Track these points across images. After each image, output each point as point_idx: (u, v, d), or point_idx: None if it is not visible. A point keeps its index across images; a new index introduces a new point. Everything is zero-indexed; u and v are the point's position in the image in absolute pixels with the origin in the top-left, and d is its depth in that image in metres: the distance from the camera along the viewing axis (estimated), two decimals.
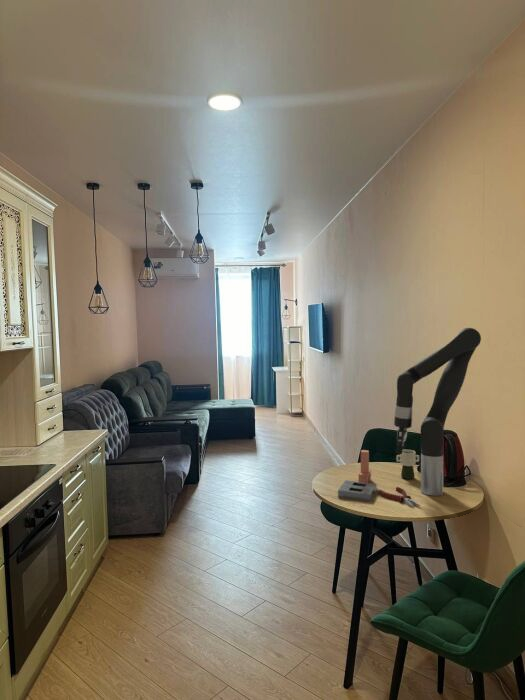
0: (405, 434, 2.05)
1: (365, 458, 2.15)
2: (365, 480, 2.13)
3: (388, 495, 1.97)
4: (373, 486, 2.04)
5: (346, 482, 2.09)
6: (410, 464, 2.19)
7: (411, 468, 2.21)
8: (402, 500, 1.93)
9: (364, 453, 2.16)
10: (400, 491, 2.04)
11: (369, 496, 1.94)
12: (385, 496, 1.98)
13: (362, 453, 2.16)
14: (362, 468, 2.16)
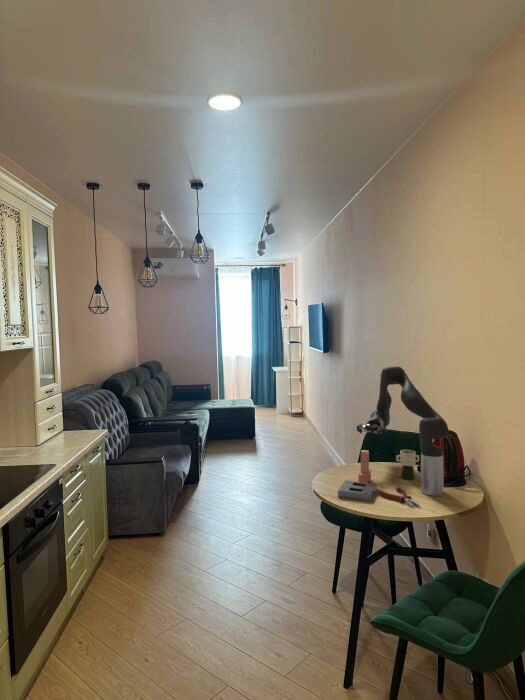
0: (367, 424, 2.35)
1: (365, 458, 2.15)
2: (365, 480, 2.13)
3: (388, 495, 1.97)
4: (373, 486, 2.04)
5: (346, 482, 2.09)
6: (410, 464, 2.19)
7: (411, 468, 2.21)
8: (403, 500, 1.93)
9: (364, 453, 2.16)
10: (400, 491, 2.03)
11: (369, 496, 1.94)
12: (385, 496, 1.98)
13: (362, 453, 2.16)
14: (362, 468, 2.16)
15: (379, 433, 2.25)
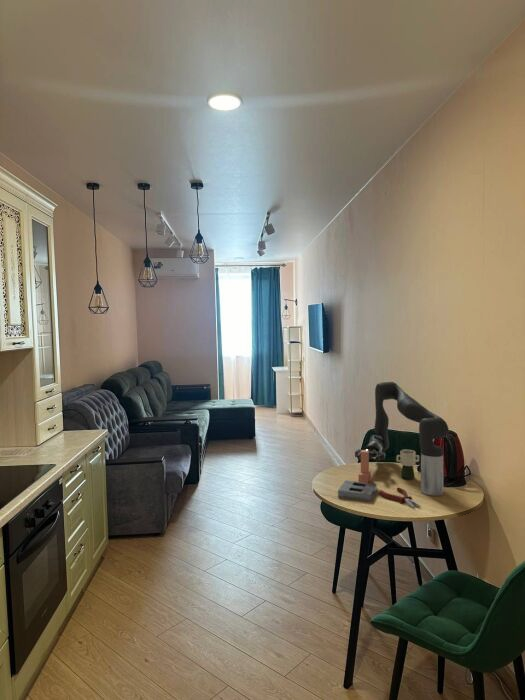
0: (366, 449, 2.31)
1: (365, 458, 2.15)
2: (365, 480, 2.13)
3: (389, 496, 1.96)
4: (373, 486, 2.04)
5: (346, 482, 2.09)
6: (410, 464, 2.19)
7: (411, 468, 2.21)
8: (403, 501, 1.92)
9: (364, 453, 2.16)
10: (401, 492, 2.03)
11: (369, 496, 1.94)
12: (386, 497, 1.97)
13: (362, 453, 2.16)
14: (362, 468, 2.16)
15: (377, 459, 2.21)
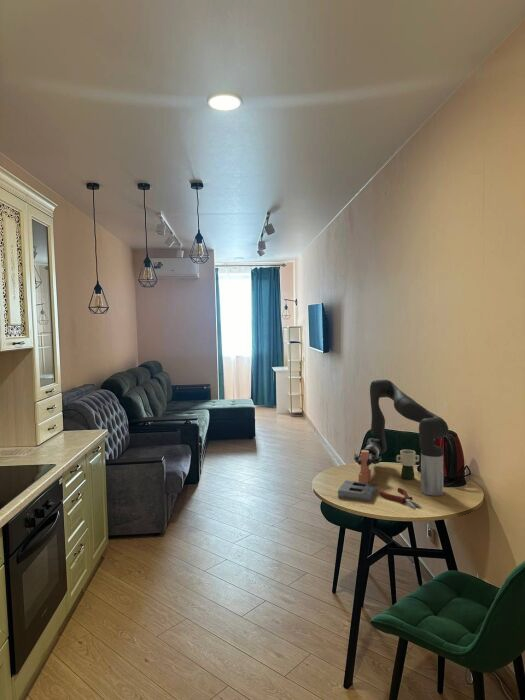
0: None
1: (365, 458, 2.15)
2: (365, 480, 2.13)
3: (389, 496, 1.96)
4: (373, 486, 2.04)
5: (346, 482, 2.09)
6: (410, 464, 2.19)
7: (411, 468, 2.21)
8: (404, 501, 1.92)
9: (364, 453, 2.16)
10: (402, 492, 2.02)
11: (369, 496, 1.94)
12: (386, 497, 1.97)
13: (362, 453, 2.16)
14: (362, 468, 2.16)
15: (369, 464, 2.14)
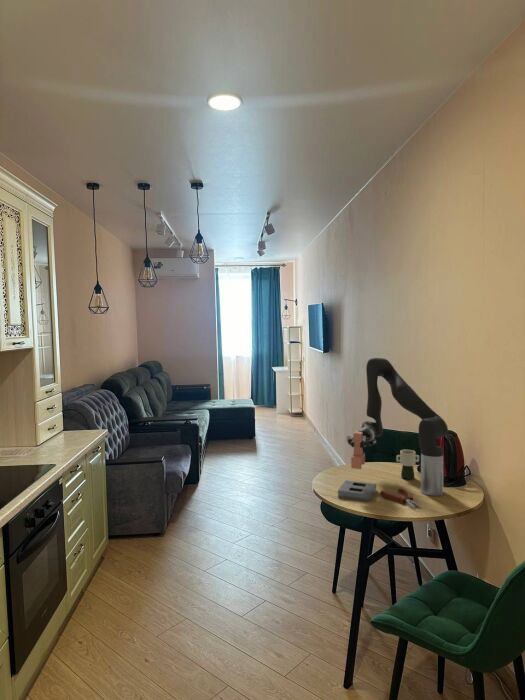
0: None
1: (359, 440, 2.02)
2: (358, 463, 2.00)
3: (390, 496, 1.96)
4: (373, 486, 2.04)
5: (346, 482, 2.09)
6: (410, 464, 2.19)
7: (411, 468, 2.21)
8: (404, 502, 1.91)
9: (357, 434, 2.02)
10: (402, 492, 2.02)
11: (369, 496, 1.94)
12: (387, 497, 1.96)
13: (355, 434, 2.03)
14: (355, 450, 2.03)
15: (362, 446, 2.01)
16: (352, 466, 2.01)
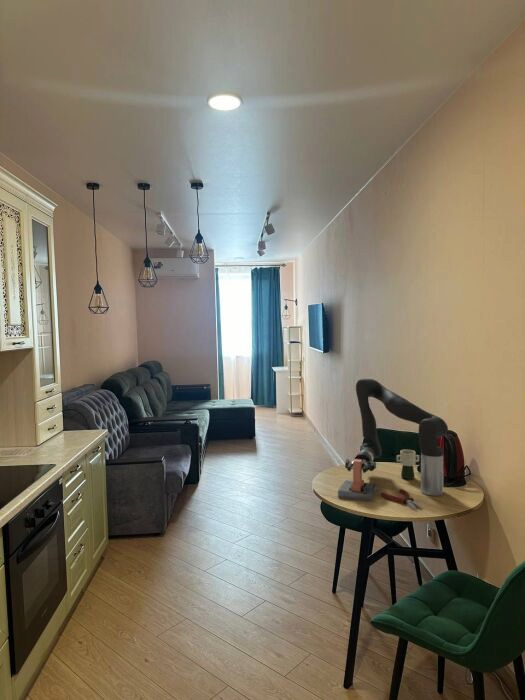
0: None
1: (358, 468, 2.01)
2: None
3: (390, 497, 1.95)
4: (373, 486, 2.04)
5: (346, 482, 2.09)
6: (410, 464, 2.19)
7: (411, 468, 2.21)
8: (404, 502, 1.91)
9: (357, 463, 2.01)
10: (403, 493, 2.01)
11: (369, 496, 1.94)
12: (387, 498, 1.96)
13: (355, 462, 2.01)
14: (354, 479, 2.02)
15: (365, 471, 1.99)
16: None
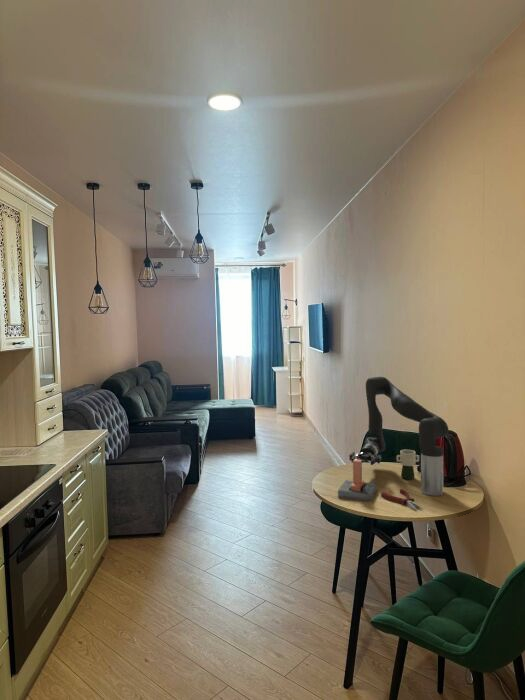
0: (361, 452, 2.21)
1: (358, 468, 2.01)
2: None
3: (391, 497, 1.94)
4: (373, 486, 2.04)
5: (346, 482, 2.09)
6: (410, 464, 2.19)
7: (411, 468, 2.21)
8: (405, 503, 1.90)
9: (357, 463, 2.01)
10: (404, 493, 2.01)
11: (369, 496, 1.94)
12: (388, 498, 1.95)
13: (354, 462, 2.01)
14: (354, 479, 2.02)
15: (373, 463, 2.11)
16: None
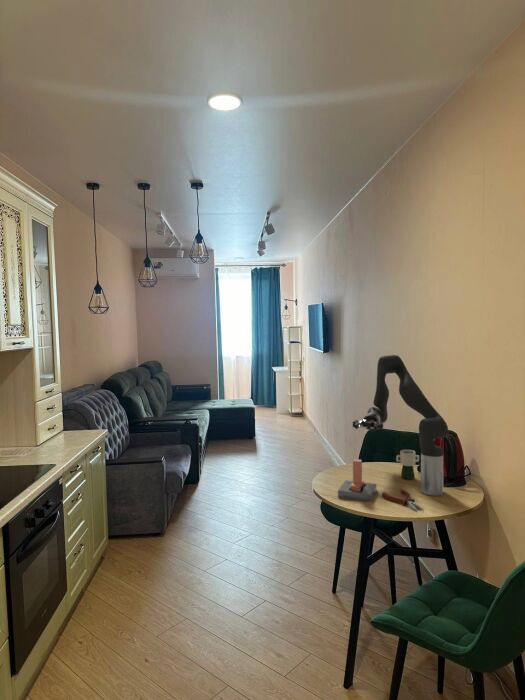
0: (363, 420, 2.26)
1: (358, 468, 2.01)
2: None
3: (392, 498, 1.94)
4: (373, 486, 2.04)
5: (346, 482, 2.09)
6: (410, 464, 2.19)
7: (411, 468, 2.21)
8: (406, 503, 1.90)
9: (357, 462, 2.01)
10: (404, 494, 2.00)
11: (369, 496, 1.94)
12: (388, 499, 1.95)
13: (354, 462, 2.01)
14: (354, 479, 2.02)
15: (376, 429, 2.16)
16: None
